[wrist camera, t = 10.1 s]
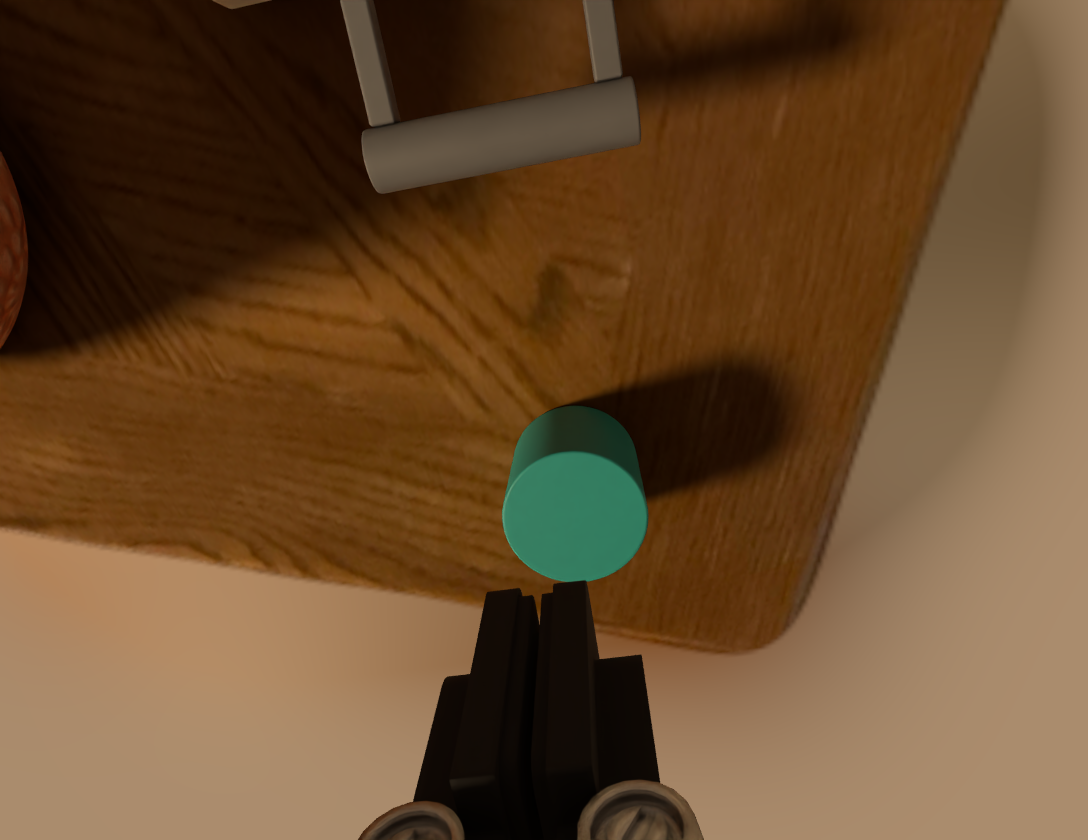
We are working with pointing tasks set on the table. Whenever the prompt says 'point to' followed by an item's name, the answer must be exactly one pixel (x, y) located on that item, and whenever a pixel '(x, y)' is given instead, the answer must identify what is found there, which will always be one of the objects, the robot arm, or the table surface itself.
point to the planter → (11, 252)
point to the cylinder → (575, 496)
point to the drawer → (488, 113)
